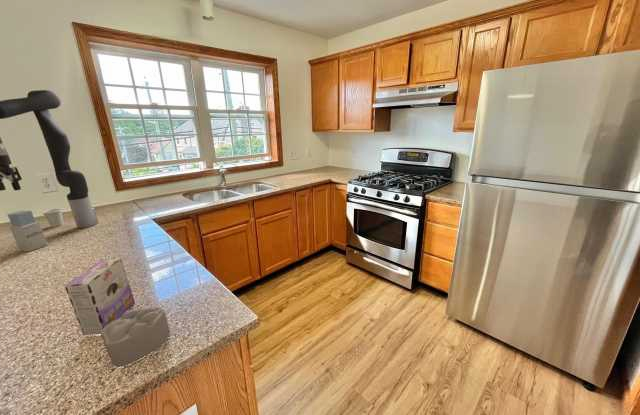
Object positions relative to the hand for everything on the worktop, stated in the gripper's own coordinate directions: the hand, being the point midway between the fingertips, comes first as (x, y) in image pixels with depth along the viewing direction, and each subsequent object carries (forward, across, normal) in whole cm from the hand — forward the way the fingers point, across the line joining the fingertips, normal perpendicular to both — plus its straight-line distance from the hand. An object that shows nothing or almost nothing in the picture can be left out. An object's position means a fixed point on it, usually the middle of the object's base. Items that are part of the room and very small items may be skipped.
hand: (10, 190), depth 121 cm
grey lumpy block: (+30, -104, +51) cm, 119 cm away
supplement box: (+30, 0, 0) cm, 30 cm away
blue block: (+17, 0, 0) cm, 17 cm away
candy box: (+30, -87, +43) cm, 101 cm away
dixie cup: (+30, +23, -29) cm, 48 cm away
